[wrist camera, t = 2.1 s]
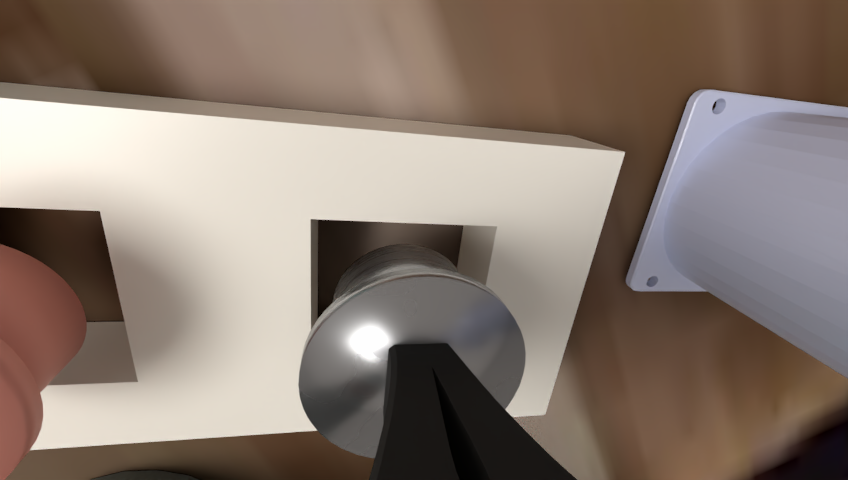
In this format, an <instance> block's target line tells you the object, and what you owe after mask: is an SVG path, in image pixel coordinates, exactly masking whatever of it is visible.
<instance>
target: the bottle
mask: <svg viewBox="0 0 848 480" xmlns="http://www.w3.org/2000/svg"><path fill="white" fill-rule="evenodd" d="M92 480H199V479H196V478H194V477H191V476H189V475H183V474H177V473H171V472H165V471H159V470H149V471H124V472H119V473H115V474H111V475H107V476H103V477H99V478H95V479H92Z"/></svg>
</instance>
